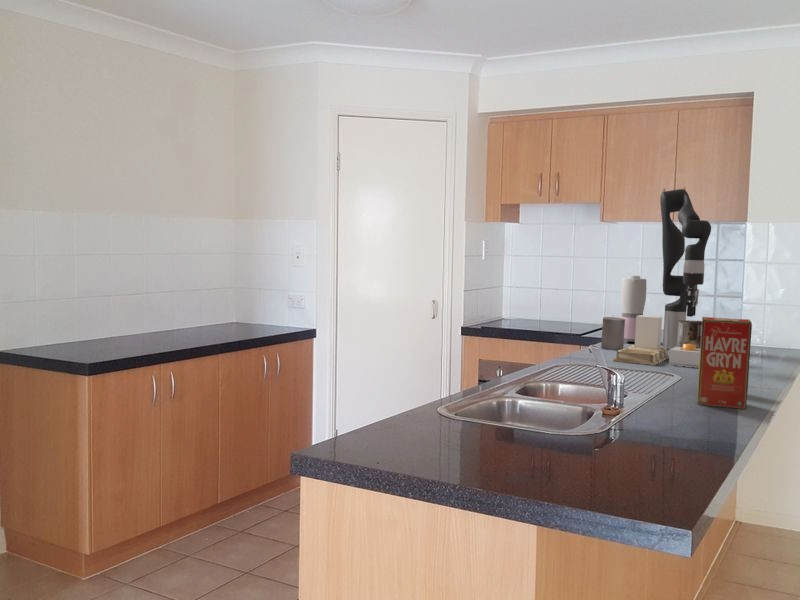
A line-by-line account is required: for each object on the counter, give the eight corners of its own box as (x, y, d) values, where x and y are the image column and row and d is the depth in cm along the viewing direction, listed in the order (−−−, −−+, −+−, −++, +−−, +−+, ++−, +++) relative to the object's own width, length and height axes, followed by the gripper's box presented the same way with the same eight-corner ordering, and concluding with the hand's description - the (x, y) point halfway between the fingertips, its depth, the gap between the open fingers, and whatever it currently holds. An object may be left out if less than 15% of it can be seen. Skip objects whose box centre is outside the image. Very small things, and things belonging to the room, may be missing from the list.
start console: (675, 361, 303) (676, 346, 302) (707, 364, 297) (708, 349, 296) (668, 365, 293) (669, 349, 292) (701, 368, 286) (702, 352, 286)
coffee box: (698, 359, 310) (701, 320, 309) (703, 362, 304) (706, 322, 303) (676, 358, 311) (678, 319, 310) (680, 360, 305) (682, 321, 304)
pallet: (631, 353, 321) (631, 344, 321) (670, 357, 313) (670, 348, 313) (613, 361, 298) (613, 351, 298) (654, 365, 290) (655, 355, 290)
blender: (646, 344, 354) (649, 276, 351) (619, 343, 356) (622, 275, 353) (641, 340, 369) (645, 275, 367) (615, 339, 371) (619, 274, 369)
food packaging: (696, 404, 218) (701, 318, 216) (696, 399, 226) (701, 316, 225) (747, 409, 213) (753, 321, 211) (744, 403, 222) (750, 319, 220)
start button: (683, 355, 298) (684, 343, 297) (696, 357, 295) (696, 344, 295) (680, 357, 294) (681, 344, 293) (693, 358, 291) (694, 345, 291)
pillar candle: (596, 347, 339) (598, 314, 338) (615, 346, 342) (617, 314, 341) (609, 350, 330) (611, 316, 329) (628, 350, 333) (630, 316, 332)
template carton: (637, 353, 317) (639, 315, 316) (659, 355, 312) (662, 316, 311) (634, 354, 312) (636, 316, 311) (656, 356, 307) (658, 317, 306)
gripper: (687, 271, 300) (684, 314, 301) (679, 271, 288) (677, 316, 289) (707, 272, 296) (704, 315, 297) (700, 272, 284) (697, 318, 285)
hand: (691, 315), depth 293 cm, fingers open, 4 cm apart
